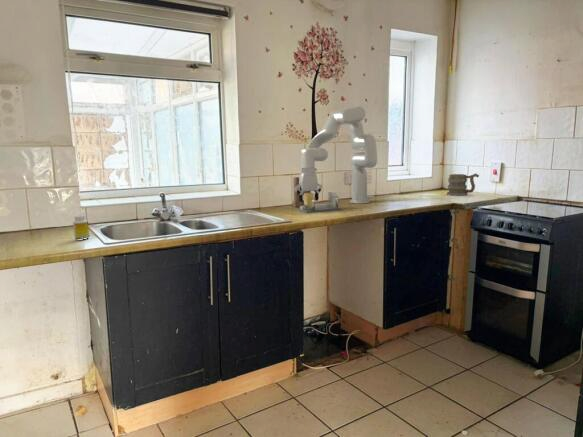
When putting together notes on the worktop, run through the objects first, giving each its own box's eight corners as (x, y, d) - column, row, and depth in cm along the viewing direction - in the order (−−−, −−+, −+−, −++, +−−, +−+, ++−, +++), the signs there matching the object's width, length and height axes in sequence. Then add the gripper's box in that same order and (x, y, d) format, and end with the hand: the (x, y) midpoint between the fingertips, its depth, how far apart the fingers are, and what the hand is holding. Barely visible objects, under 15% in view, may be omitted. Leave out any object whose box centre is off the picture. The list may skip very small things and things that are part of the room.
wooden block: (311, 206, 269) (310, 176, 266) (295, 207, 265) (294, 177, 262) (308, 205, 272) (308, 176, 269) (292, 206, 268) (292, 177, 265)
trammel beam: (332, 205, 259) (331, 191, 257) (339, 207, 250) (339, 193, 249) (299, 208, 250) (299, 194, 249) (306, 210, 242) (305, 195, 241)
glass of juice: (91, 239, 187) (89, 215, 186) (78, 241, 183) (75, 217, 182) (86, 237, 191) (83, 214, 189) (72, 239, 187) (70, 216, 186)
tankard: (445, 195, 303) (445, 173, 300) (450, 193, 313) (450, 172, 310) (475, 196, 291) (476, 174, 289) (479, 194, 302) (481, 172, 299)
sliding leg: (310, 207, 253) (310, 192, 252) (317, 209, 245) (317, 194, 243) (304, 207, 251) (303, 193, 250) (311, 209, 243) (310, 194, 242)
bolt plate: (330, 207, 262) (330, 204, 262) (341, 209, 250) (341, 207, 250) (297, 210, 253) (297, 207, 253) (306, 213, 242) (306, 210, 241)
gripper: (318, 169, 253) (319, 199, 256) (291, 171, 247) (292, 201, 250) (325, 170, 247) (325, 200, 250) (297, 172, 240) (297, 203, 243)
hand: (308, 201), depth 250 cm, fingers open, 9 cm apart
